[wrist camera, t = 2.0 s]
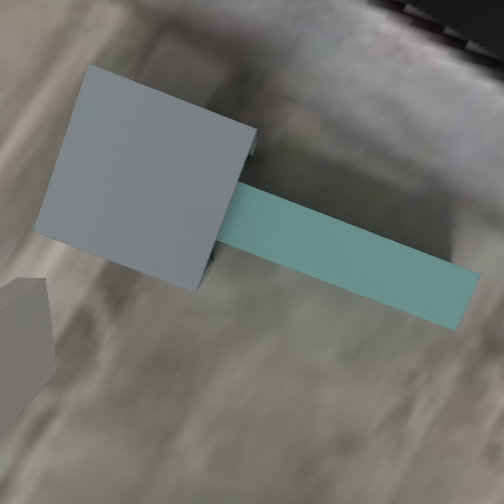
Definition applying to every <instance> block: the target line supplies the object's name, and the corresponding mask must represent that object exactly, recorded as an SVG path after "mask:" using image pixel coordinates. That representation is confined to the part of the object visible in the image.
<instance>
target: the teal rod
mask: <svg viewBox="0 0 504 504" xmlns="http://www.w3.org/2000/svg"><path fill="white" fill-rule="evenodd" d="M216 240H217V241H219V242H222V243H225V244H227V245H230V246H232V247H235V248H238V249H240V250H243V251H246V252H248V253H251V254H254V255H256V256H259V257H261V258H264V259H267V260H269V261H272V262H275V263H277V264H280V265H282V266H285V267H288V268H290V269H293V270H296V271H298V272H301V273H304V274H306V275H309V276H311V277H314V278H317V279H319V280H322V281H325V282H327V283H330V284H333V285H335V286H338V287H340V288H343V289H346V290H348V291H351V292H354V293H356V294H359V295H361V296H364V297H367V298H369V299H372V300H375V301H377V302H380V303H383V304H385V305H388V306H390V307H393V308H396V309H398V310H401V311H404V312H406V313H409V314H411V315H414V316H417V317H419V318H422V319H425V320H427V321H430V322H433V323H435V324H438V325H440V326H443V327H446V328H448V329H451V330H454V331H456V328H457V326H458V324H459V322H460V319H461V317H462V315H463V313H464V310H465V308H466V306H467V304H468V301H469V299H470V297H471V295H472V292H473V290H474V288H475V286H476V284H477V281H478V279H479V277H480V275H481V274H478V273H475V272H473V271H470V270H468V269H465V268H462V267H460V266H457V265H455V264H452V263H449V262H447V261H444V260H442V259H439V258H436V257H434V256H431V255H429V254H426V253H423V252H421V251H418V250H416V249H413V248H410V247H408V246H405V245H403V244H400V243H397V242H395V241H392V240H390V239H387V238H384V237H382V236H379V235H377V234H374V233H371V232H369V231H366V230H364V229H361V228H358V227H356V226H353V225H351V224H348V223H345V222H343V221H340V220H338V219H335V218H332V217H330V216H327V215H324V214H322V213H319V212H317V211H314V210H311V209H309V208H306V207H304V206H301V205H298V204H296V203H293V202H291V201H288V200H285V199H283V198H280V197H278V196H275V195H272V194H270V193H267V192H265V191H262V190H259V189H257V188H254V187H252V186H249V185H246V184H244V183H241V182H239V181H238V183H237V185H236V188H235V191H234V193H233V196H232V199H231V201H230V204H229V207H228V209H227V212H226V215H225V217H224V220H223V223H222V225H221V228H220V231H219V233H218V236H217V239H216Z"/></svg>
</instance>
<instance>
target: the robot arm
mask: <svg viewBox="0 0 504 504" xmlns="http://www.w3.org/2000/svg"><path fill="white" fill-rule="evenodd" d="M56 372H57V366H56V358H55V350H54V342H53V334H52V326H51V318H50V310H49V302H48V294H47V286H46V278H16V279H14V280H13V281H11V282H10V283H8V284H7V285H5V286H4V287H2V288H1V289H0V438H1V437H2V436H3V434H4V433H5V432H6V431H7V430H8V428H9V427H10V426H11V425H12V424H13V423H14V421H15V420H16V419H17V418H18V417H19V415H20V414H21V413H22V412H23V411H24V410H25V408H26V407H27V406H28V405H29V404H30V402H31V401H32V400H33V399H34V398H35V396H36V395H37V394H38V393H39V392H40V391H41V389H42V388H43V387H44V386H45V385H46V383H47V382H48V381H49V380H50V379H51V377H52V376H53V375H54V374H55V373H56Z"/></svg>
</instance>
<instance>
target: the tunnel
mask: <svg viewBox="0 0 504 504" xmlns="http://www.w3.org/2000/svg"><path fill="white" fill-rule="evenodd" d="M256 146H257V129H255V128H253V127H250V126H247V125H245V124H242V123H240V122H237V121H235V120H232V119H230V118H227V117H224V116H222V115H219V114H217V113H214V112H212V111H209V110H206V109H204V108H201V107H199V106H196V105H194V104H191V103H189V102H186V101H183V100H181V99H178V98H176V97H173V96H171V95H168V94H165V93H163V92H160V91H158V90H155V89H153V88H150V87H148V86H145V85H142V84H140V83H137V82H135V81H132V80H130V79H127V78H125V77H122V76H119V75H117V74H114V73H112V72H109V71H107V70H104V69H101V68H99V67H96V66H94V65H91V64H88V67H87V70H86V73H85V76H84V79H83V82H82V85H81V88H80V91H79V94H78V97H77V100H76V103H75V106H74V109H73V112H72V116H71V119H70V122H69V125H68V128H67V131H66V134H65V137H64V140H63V143H62V146H61V149H60V152H59V155H58V158H57V161H56V164H55V167H54V170H53V173H52V176H51V179H50V182H49V185H48V188H47V191H46V194H45V197H44V200H43V203H42V206H41V209H40V212H39V215H38V218H37V221H36V224H35V227H34V230H33V232H36V233H39V234H41V235H44V236H46V237H49V238H52V239H54V240H57V241H60V242H62V243H65V244H68V245H70V246H73V247H76V248H78V249H81V250H83V251H86V252H89V253H91V254H94V255H97V256H99V257H102V258H105V259H107V260H110V261H112V262H115V263H118V264H120V265H123V266H126V267H128V268H131V269H134V270H136V271H139V272H142V273H144V274H147V275H149V276H152V277H155V278H157V279H160V280H163V281H165V282H168V283H171V284H173V285H176V286H178V287H181V288H184V289H186V290H189V291H192V292H194V293H196V291H197V290H198V288H199V287H200V285H201V284H202V282H203V280H204V279H205V277H206V276H207V274H208V273H209V271H210V268H211V265H212V263H213V259H210V258H209V257H210V255H211V252H212V249H213V247H214V244H215V241H216V239H217V236H218V233H219V231H220V228H221V225H222V223H223V220H224V217H225V215H226V212H227V209H228V207H229V204H230V201H231V199H232V196H233V193H234V191H235V188H236V185H237V183H238V180H239V177H240V175H241V172H242V169H243V167H244V164H245V161H246V159H247V156H250V157H253V154H254V152H255V149H256Z"/></svg>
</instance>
